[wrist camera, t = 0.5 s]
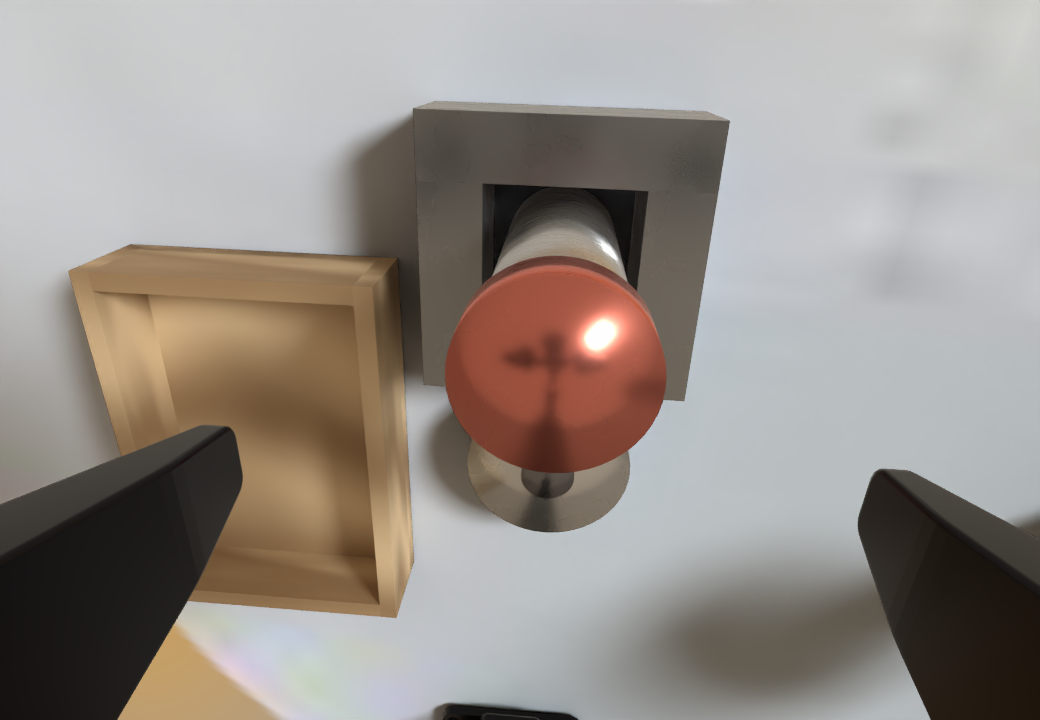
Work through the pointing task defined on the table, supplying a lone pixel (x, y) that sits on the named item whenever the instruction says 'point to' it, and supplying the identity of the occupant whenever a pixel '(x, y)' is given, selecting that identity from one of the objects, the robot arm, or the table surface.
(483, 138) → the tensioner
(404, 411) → the tray
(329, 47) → the table surface
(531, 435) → the pin
